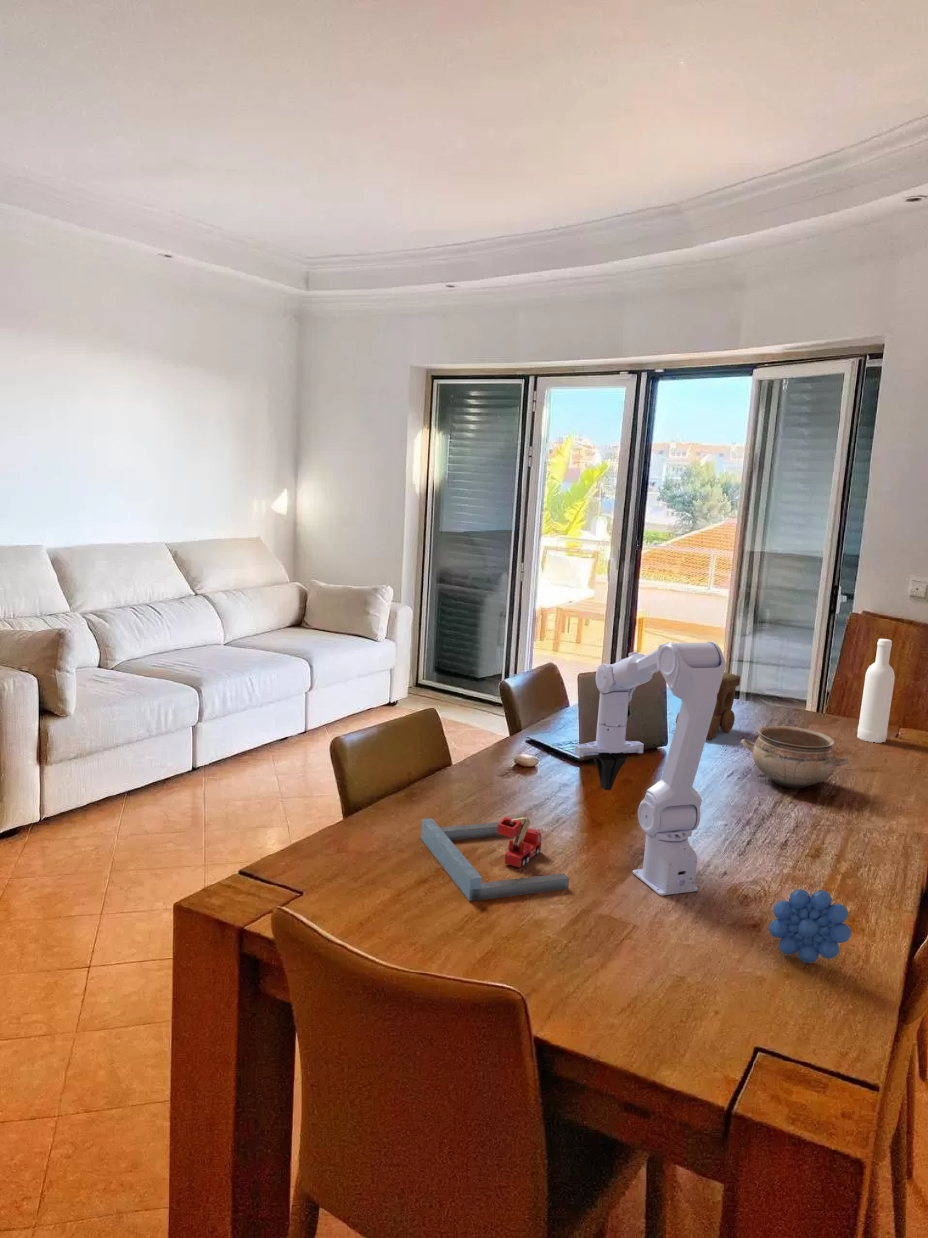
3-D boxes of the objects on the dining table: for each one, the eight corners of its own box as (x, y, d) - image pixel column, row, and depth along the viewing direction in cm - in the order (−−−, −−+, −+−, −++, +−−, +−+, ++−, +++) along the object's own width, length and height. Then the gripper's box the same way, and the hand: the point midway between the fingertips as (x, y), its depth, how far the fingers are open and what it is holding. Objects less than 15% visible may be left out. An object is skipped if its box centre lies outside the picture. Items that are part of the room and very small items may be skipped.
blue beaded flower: (851, 963, 137) (861, 890, 135) (842, 983, 131) (852, 906, 129) (773, 938, 143) (782, 867, 141) (761, 955, 138) (771, 882, 136)
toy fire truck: (542, 851, 171) (546, 803, 169) (510, 877, 159) (514, 826, 157) (526, 847, 172) (530, 799, 171) (493, 872, 161) (497, 821, 159)
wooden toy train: (702, 721, 272) (707, 668, 270) (737, 730, 265) (744, 675, 262) (670, 733, 257) (676, 677, 255) (707, 743, 250) (714, 685, 247)
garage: (568, 889, 156) (570, 867, 155) (469, 901, 149) (470, 878, 148) (508, 830, 180) (510, 811, 179) (421, 838, 173) (422, 819, 172)
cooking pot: (848, 784, 222) (854, 736, 220) (840, 807, 205) (847, 755, 204) (745, 763, 233) (750, 718, 231) (729, 783, 217) (735, 734, 215)
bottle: (887, 739, 266) (902, 640, 261) (884, 745, 259) (898, 643, 254) (858, 733, 270) (872, 636, 265) (854, 739, 263) (868, 639, 258)
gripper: (632, 716, 184) (626, 779, 186) (570, 719, 179) (564, 783, 181) (651, 726, 178) (645, 791, 180) (587, 729, 172) (581, 796, 175)
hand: (605, 788), depth 180 cm, fingers closed
